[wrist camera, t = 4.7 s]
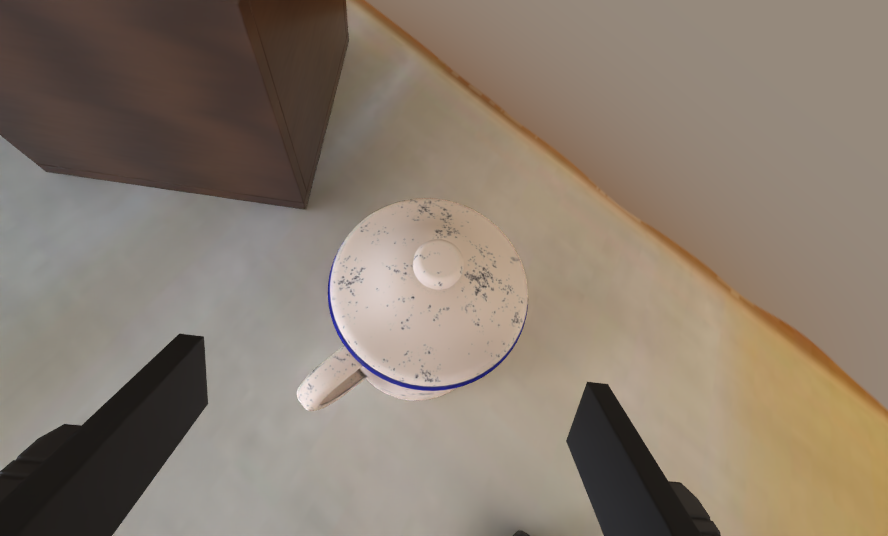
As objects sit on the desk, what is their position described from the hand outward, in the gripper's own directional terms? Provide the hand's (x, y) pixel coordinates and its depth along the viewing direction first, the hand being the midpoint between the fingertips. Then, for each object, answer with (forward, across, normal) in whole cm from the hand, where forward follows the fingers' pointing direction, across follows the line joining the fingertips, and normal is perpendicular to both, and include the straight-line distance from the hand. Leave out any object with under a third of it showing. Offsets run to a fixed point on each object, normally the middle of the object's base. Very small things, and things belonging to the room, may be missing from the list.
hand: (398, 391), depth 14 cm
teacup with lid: (+11, 0, -5) cm, 12 cm away
